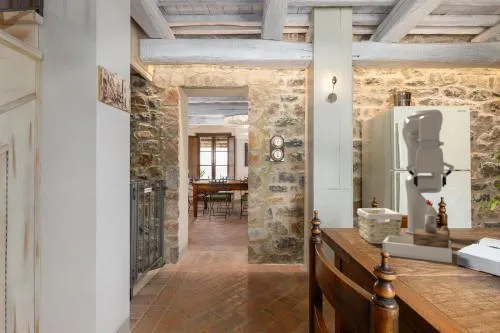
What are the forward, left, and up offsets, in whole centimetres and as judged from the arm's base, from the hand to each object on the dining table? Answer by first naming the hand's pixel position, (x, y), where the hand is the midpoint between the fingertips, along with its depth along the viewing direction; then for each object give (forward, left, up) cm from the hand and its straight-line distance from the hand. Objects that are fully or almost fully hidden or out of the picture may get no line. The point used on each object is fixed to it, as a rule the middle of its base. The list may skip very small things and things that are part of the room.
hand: (429, 186), depth 131 cm
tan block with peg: (0, +1, -27) cm, 27 cm away
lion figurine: (-13, -10, -29) cm, 33 cm away
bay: (+4, -3, -28) cm, 29 cm away
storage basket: (+3, -31, -29) cm, 42 cm away
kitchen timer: (-57, -63, -29) cm, 90 cm away
